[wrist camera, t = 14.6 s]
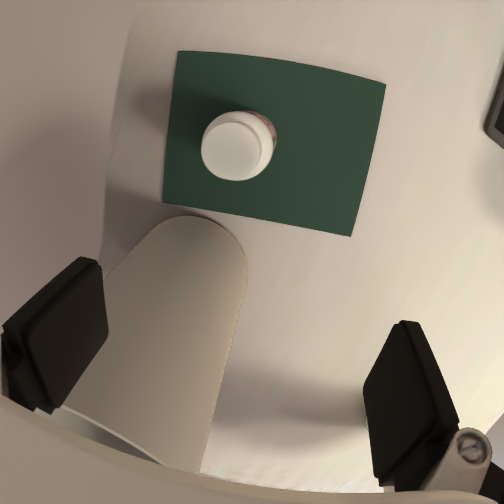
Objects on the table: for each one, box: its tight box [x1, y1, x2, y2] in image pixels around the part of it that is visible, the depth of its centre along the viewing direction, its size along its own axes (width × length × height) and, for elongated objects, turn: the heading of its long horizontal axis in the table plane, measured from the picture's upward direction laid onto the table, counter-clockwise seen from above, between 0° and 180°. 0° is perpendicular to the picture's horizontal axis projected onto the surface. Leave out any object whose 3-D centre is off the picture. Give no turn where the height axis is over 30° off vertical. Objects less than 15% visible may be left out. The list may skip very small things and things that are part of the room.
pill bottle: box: [201, 111, 276, 181], centre depth 25 cm, size 5×5×10 cm
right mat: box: [163, 51, 386, 237], centre depth 29 cm, size 20×16×1 cm
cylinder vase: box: [34, 216, 248, 475], centre depth 25 cm, size 12×12×25 cm
